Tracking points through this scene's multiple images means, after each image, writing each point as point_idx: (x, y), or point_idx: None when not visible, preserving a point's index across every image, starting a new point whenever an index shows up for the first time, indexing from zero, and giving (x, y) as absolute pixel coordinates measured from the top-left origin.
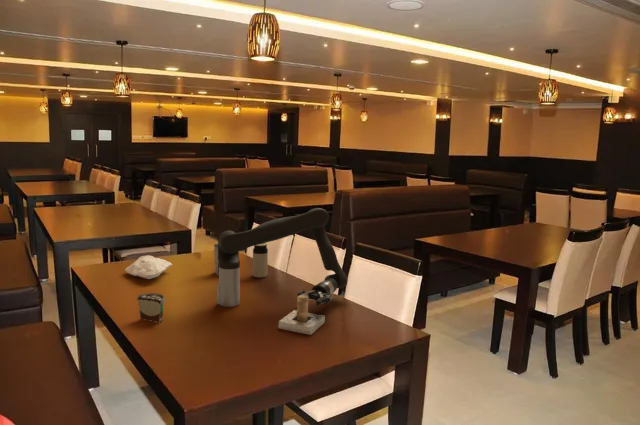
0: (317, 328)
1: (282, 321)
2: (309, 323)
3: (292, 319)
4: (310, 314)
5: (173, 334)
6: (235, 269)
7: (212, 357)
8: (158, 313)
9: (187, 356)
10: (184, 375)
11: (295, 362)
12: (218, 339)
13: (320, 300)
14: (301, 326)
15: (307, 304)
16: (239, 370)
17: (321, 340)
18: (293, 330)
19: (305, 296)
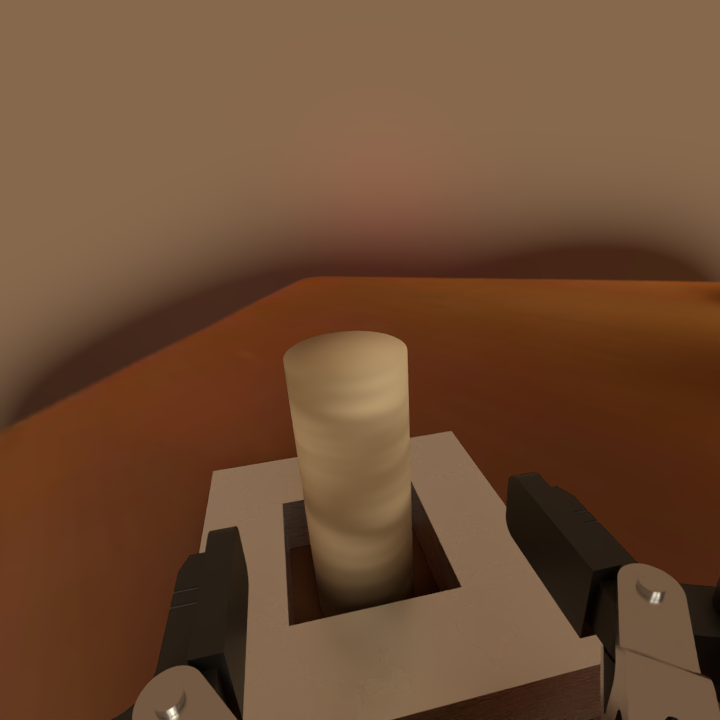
0: None
1: (432, 439)
2: (251, 506)
3: (417, 498)
4: (357, 675)
5: (635, 309)
6: None
7: (418, 311)
8: None
9: (466, 298)
10: (394, 286)
11: (197, 368)
12: (516, 338)
13: (190, 607)
14: (286, 462)
15: (293, 425)
16: (316, 315)
17: (134, 500)
18: None
19: (333, 368)
